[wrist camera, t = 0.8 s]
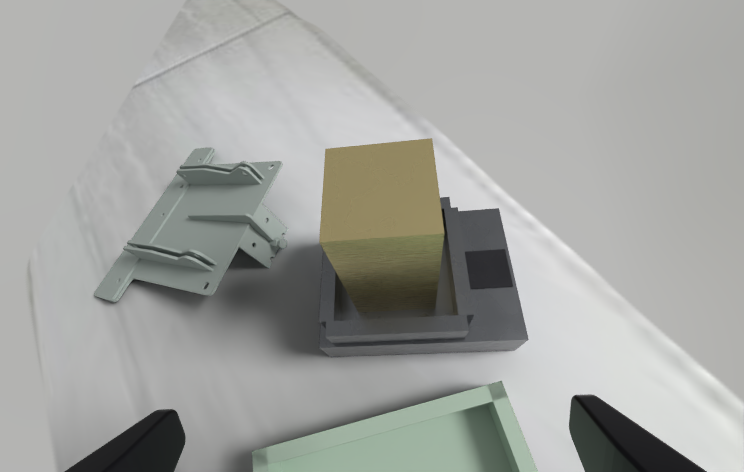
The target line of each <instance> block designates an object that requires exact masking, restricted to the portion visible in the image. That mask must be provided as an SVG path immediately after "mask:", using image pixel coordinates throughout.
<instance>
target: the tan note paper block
mask: <svg viewBox="0 0 744 472" xmlns="http://www.w3.org/2000/svg"><path fill="white" fill-rule="evenodd" d="M443 241H444V226H443V218H442V211H441V203H440V196H439V188H438V180H437V173H436V165H435V158H434V150H433V142H432V138H431V139H421V140H411V141H401V142H391V143H381V144H371V145H361V146H351V147H340V148H330V149H326V151H325V166H324V181H323V196H322V211H321V226H320V241H319V242H320V244H321V246H322V248H323V250H324V251H325V253H326V255H327V257H328V259H329V260H330V262H331V264H332V266H333V268H334V269H335V271H336V273H337V275H338V277H339V278H340V280H341V282H342V284H343V286H344V287H345V289H346V291H347V293H348V295H349V296H350V298H351V300H352V302H353V304H354V306H355V307H356V309H357V311H358V312H376V311H396V310H416V309H435V307H436V299H437V291H438V282H439V274H440V266H441V258H442V249H443Z"/></svg>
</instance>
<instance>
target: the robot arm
mask: <svg viewBox="0 0 744 472" xmlns="http://www.w3.org/2000/svg"><path fill="white" fill-rule="evenodd" d="M569 429H570V434H571V437H572V440H573V442H574V445H575V447H576V450H577V452H578V455H579V457H580V460H581V462H582V465H583V467H584V470H585V472H707V471H705V470H704V469H702V468H701V467H699V466H698V465H696V464H695V463H693V462H692V461H690V460H689V459H688V458H686V457H685V456H683V455H682V454H680V453H679V452H677V451H676V450H674V449H673V448H671V447H670V446H669V445H667V444H666V443H664V442H663V441H661V440H660V439H658V438H657V437H655V436H654V435H652V434H651V433H649V432H648V431H647V430H645V429H644V428H642V427H641V426H639V425H638V424H636V423H635V422H633V421H632V420H630V419H629V418H628V417H626V416H625V415H623V414H622V413H620V412H619V411H617V410H616V409H614V408H613V407H611V406H610V405H609V404H607V403H606V402H604V401H603V400H601V399H600V398H598V397H597V396H594V395H575V396H573V397H572V400H571V409H570V420H569ZM184 445H185V433H184V430H183V427H182V424H181V422H180V419H179V416H178V414H177V412H176V411H175V410H173V409H166V410H157V411H154V412H153V413H151V414H150V415H148V416H147V417H145V418H144V419H142V420H141V421H139V422H138V423H136V424H135V425H133V426H132V427H130V428H129V429H127V430H126V431H124V432H123V433H121V434H120V435H118V436H117V437H115V438H114V439H112V440H111V441H110V442H108V443H107V444H105V445H104V446H102V447H101V448H99V449H98V450H96V451H95V452H93V453H92V454H90V455H89V456H87V457H86V458H84V459H83V460H81V461H80V462H78V463H77V464H75V465H74V466H72V467H71V468H69V469H68V470H66V471H65V472H174V470H175V468H176V465H177V463H178V460H179V458H180V455H181V453H182V450H183V448H184Z"/></svg>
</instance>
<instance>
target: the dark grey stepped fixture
mask: <svg viewBox="0 0 744 472" xmlns="http://www.w3.org/2000/svg"><path fill="white" fill-rule="evenodd" d="M440 203H441V211H442V218H443V226H444V241H443V249H442V258H441V266H440V274H439V282H438V291H437V299H436V307H435V309H416V310H396V311H376V312H358V311H357V309H356V307H355V306H354V304H353V302H352V300H351V298H350V296H349V295H348V293H347V291H346V289H345V287H344V286H343V284H342V282H341V280H340V278H339V277H338V275H337V273H336V271H335V269H334V268H333V266H332V264H331V262H330V260H329V259H328V257H327V255H326V253H325V251H324V250H323V261H322V278H321V294H320V311H319V322H320V342H319V348H320V349H321V350H323V351H324V352H325V353H326V354H328V355H329V356H330V357H344V356H371V355H399V354H426V353H453V352H480V351H507V350H516V349H517V348H519V347H520V346H521V345H522V344H524V343H525V342H526V341H527V340H528V335H527V331H526V326H525V322H524V318H523V313H522V309H521V304H520V300H519V296H518V291H517V287H516V282H515V278H514V273H513V269H512V265H511V260H510V256H509V251H508V247H507V243H506V238H505V234H504V229H503V225H502V221H501V216H500V212H499V208H498V209H485V210H472V211H459V212H458V207H456V208H451V206H450V199H449V197H443V198H440Z"/></svg>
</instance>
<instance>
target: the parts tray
mask: <svg viewBox="0 0 744 472" xmlns="http://www.w3.org/2000/svg"><path fill="white" fill-rule="evenodd" d="M252 462H253V472H538V470H537V468H536V465H535V463H534V460H533V458H532V455H531V453H530V450H529V448H528V446H527V443H526V441H525V438H524V436H523V433H522V431H521V428H520V426H519V423H518V421H517V418H516V416H515V413H514V411H513V408H512V406H511V403H510V401H509V398H508V396H507V393H506V391H505V388H504V386H503V383H502V381H500V382H496V383H492V384H489V385H485V386H482V387H478V388H475V389H471V390H468V391H464V392H461V393H457V394H453V395H450V396H446V397H443V398H439V399H436V400H432V401H429V402H425V403H422V404H418V405H414V406H411V407H407V408H404V409H400V410H397V411H393V412H390V413H386V414H383V415H379V416H375V417H372V418H368V419H365V420H361V421H358V422H354V423H351V424H347V425H343V426H340V427H336V428H333V429H329V430H326V431H322V432H319V433H315V434H312V435H308V436H304V437H301V438H297V439H294V440H290V441H287V442H283V443H280V444H276V445H273V446H269V447H265V448H262V449H258V450H255V451H252Z"/></svg>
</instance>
